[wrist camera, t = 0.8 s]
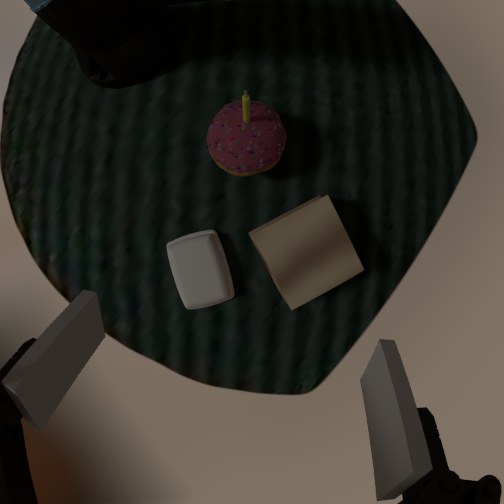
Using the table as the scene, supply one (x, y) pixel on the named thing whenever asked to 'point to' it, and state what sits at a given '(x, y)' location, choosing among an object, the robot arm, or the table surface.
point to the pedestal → (307, 251)
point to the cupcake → (246, 137)
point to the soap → (200, 269)
